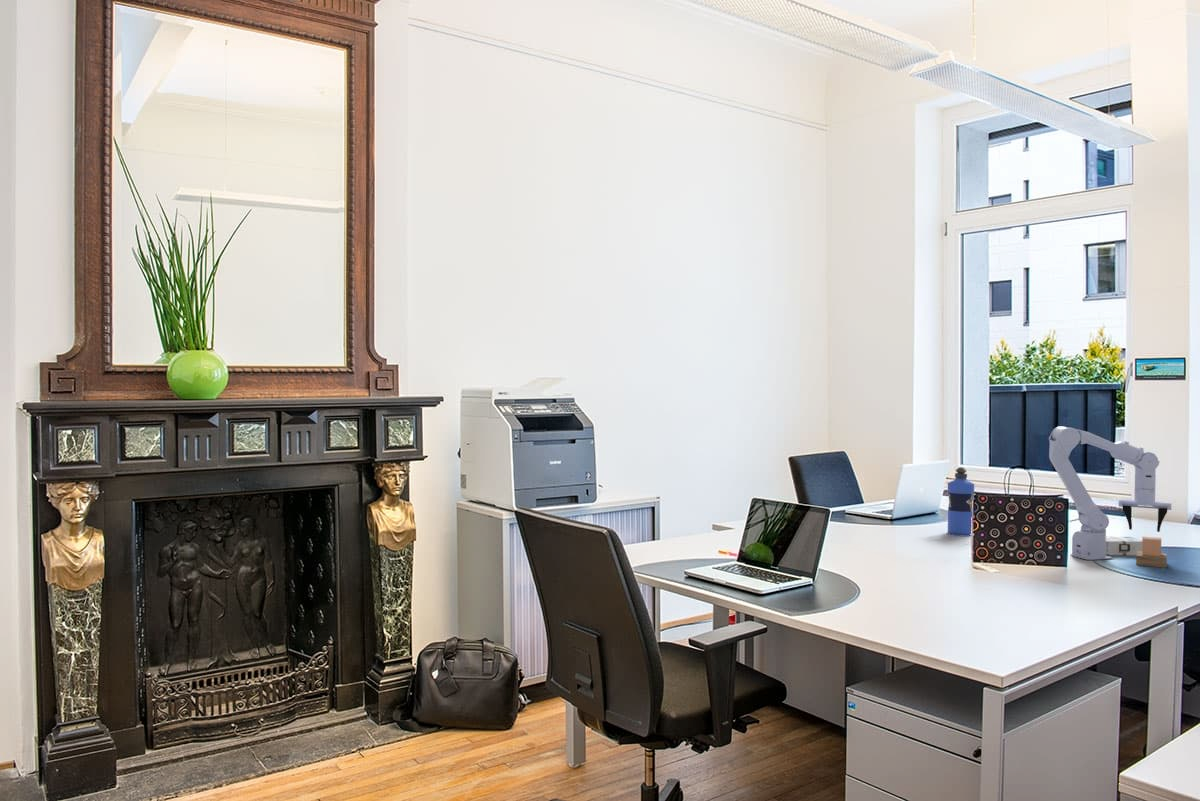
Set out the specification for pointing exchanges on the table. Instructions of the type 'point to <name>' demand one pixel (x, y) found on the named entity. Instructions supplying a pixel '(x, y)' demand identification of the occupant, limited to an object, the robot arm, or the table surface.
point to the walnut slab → (1151, 560)
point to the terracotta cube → (1151, 546)
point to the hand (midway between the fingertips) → (1144, 530)
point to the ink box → (1123, 546)
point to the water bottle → (960, 504)
